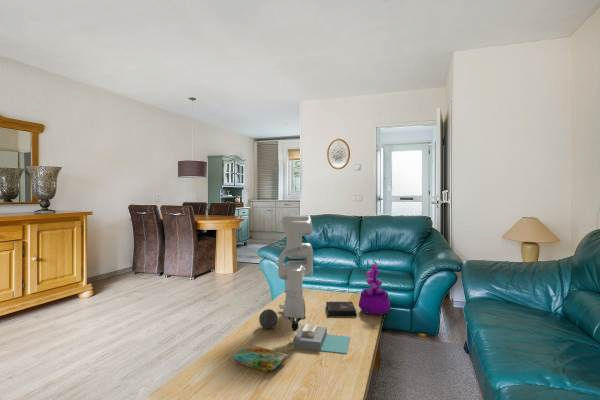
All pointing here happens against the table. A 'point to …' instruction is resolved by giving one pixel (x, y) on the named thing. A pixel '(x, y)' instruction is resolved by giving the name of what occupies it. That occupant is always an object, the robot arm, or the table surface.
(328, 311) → the portable cd player
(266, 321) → the decorative ball
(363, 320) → the table surface
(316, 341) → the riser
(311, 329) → the tile
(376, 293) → the decorative plant
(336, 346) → the mat
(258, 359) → the puzzle game
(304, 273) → the robot arm
